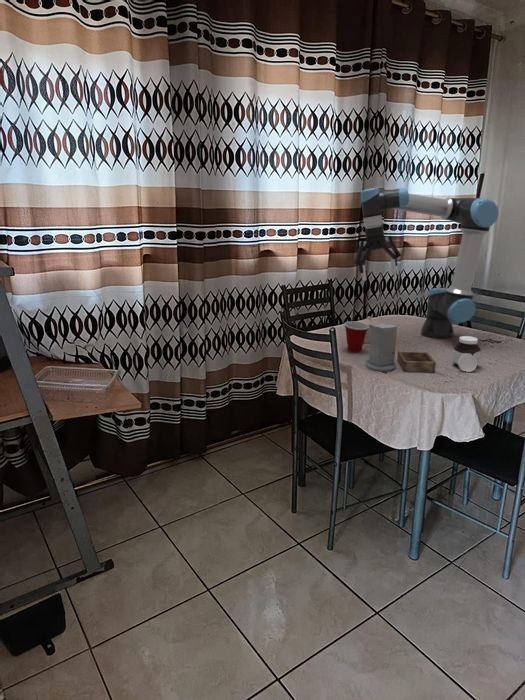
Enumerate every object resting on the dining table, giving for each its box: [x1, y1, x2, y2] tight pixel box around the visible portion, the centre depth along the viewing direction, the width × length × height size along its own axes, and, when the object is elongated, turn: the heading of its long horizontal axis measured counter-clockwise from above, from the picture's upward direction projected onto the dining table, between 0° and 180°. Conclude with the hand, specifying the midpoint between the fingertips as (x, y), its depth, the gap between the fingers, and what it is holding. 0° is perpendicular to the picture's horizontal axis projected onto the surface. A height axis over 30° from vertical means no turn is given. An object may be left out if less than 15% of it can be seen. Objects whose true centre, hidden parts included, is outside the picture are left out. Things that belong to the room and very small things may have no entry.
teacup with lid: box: [359, 316, 380, 344], centre depth 229 cm, size 12×9×12 cm
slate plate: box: [365, 359, 397, 372], centre depth 197 cm, size 12×12×1 cm
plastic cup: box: [344, 320, 369, 353], centre depth 215 cm, size 11×11×12 cm
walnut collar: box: [396, 351, 437, 373], centre depth 197 cm, size 12×13×4 cm
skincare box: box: [368, 323, 398, 367], centre depth 195 cm, size 8×7×16 cm
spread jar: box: [451, 335, 482, 373], centre depth 195 cm, size 12×11×12 cm
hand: (379, 277), depth 209 cm, fingers open, 13 cm apart
